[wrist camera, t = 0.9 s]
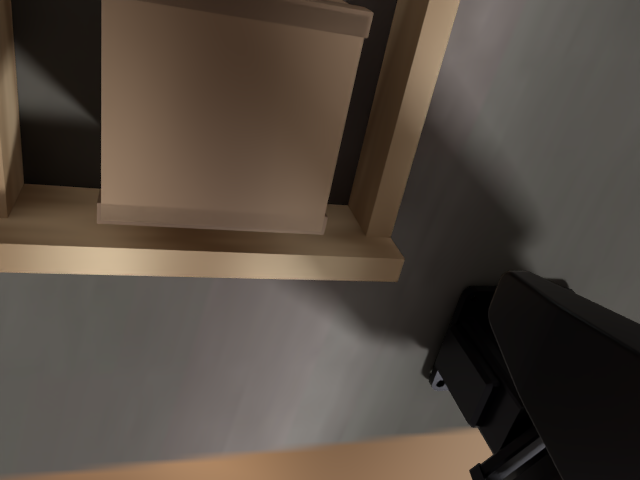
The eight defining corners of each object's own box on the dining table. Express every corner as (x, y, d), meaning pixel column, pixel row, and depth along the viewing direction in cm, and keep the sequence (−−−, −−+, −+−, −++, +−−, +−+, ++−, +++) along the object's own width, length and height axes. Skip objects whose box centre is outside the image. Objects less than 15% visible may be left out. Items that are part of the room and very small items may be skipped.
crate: (316, -21, 18) (373, 12, 13) (286, 155, 21) (323, 235, 16) (116, -59, 16) (96, -38, 12) (113, 139, 19) (97, 223, 15)
